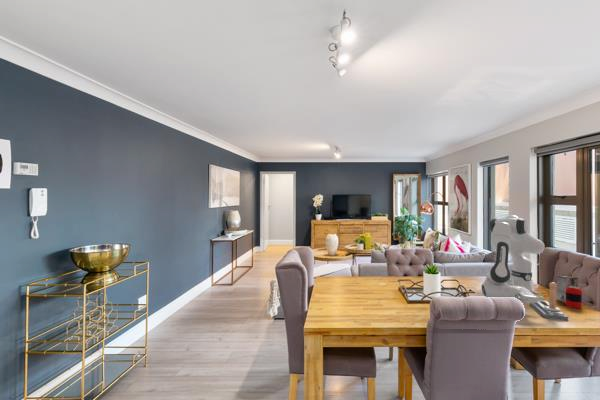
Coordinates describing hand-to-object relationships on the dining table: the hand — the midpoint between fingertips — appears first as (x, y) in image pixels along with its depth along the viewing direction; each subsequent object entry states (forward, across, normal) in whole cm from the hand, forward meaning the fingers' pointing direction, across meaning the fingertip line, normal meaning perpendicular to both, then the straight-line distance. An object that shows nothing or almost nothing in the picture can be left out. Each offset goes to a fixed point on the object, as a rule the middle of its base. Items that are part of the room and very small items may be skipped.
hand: (540, 296), depth 181 cm
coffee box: (+27, +35, +11) cm, 46 cm away
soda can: (+26, +24, +11) cm, 37 cm away
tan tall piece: (+6, 0, +9) cm, 10 cm away
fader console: (+6, +6, +11) cm, 14 cm away
